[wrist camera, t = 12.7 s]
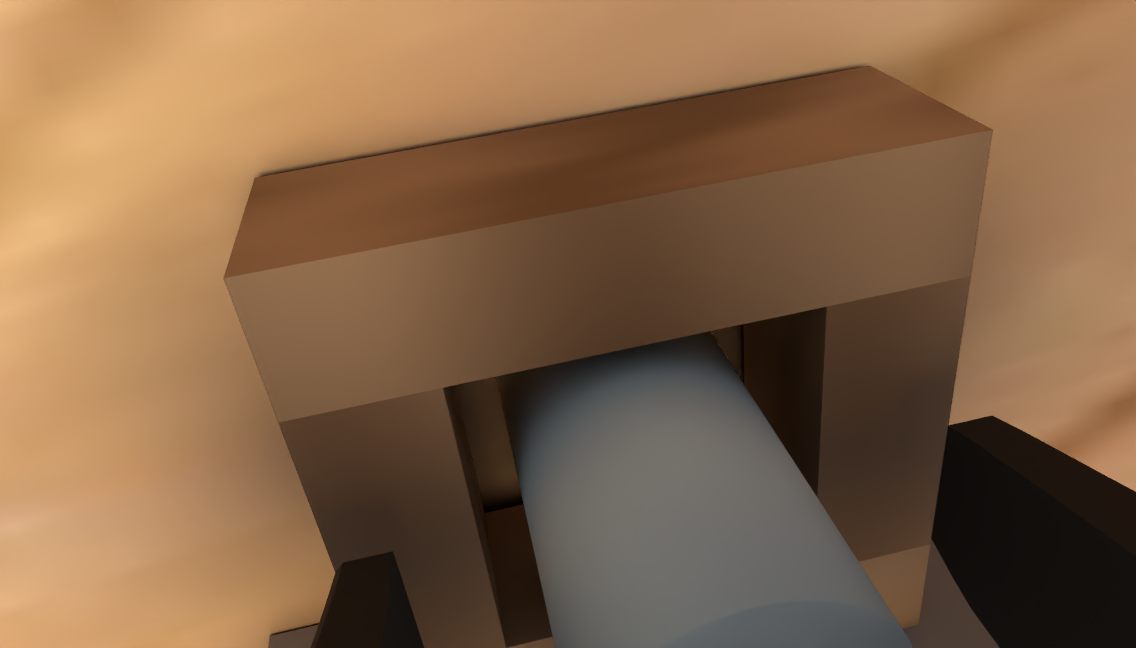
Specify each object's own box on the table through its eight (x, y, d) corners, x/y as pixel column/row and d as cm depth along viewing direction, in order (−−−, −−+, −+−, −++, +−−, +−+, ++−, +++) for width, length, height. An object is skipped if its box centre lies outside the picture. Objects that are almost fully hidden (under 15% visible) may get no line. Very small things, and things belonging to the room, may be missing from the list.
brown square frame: (869, 66, 13) (992, 130, 10) (839, 507, 18) (918, 624, 15) (255, 177, 12) (223, 278, 9) (400, 611, 17) (404, 755, 14)
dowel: (693, 240, 14) (930, 560, 8) (707, 414, 16) (907, 774, 10) (474, 291, 14) (554, 660, 8) (516, 462, 16) (604, 861, 10)
